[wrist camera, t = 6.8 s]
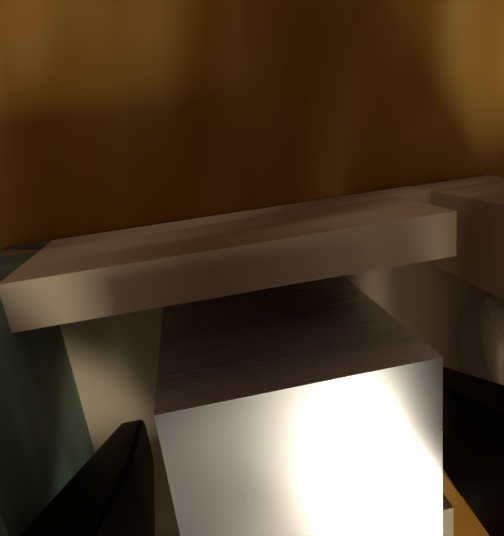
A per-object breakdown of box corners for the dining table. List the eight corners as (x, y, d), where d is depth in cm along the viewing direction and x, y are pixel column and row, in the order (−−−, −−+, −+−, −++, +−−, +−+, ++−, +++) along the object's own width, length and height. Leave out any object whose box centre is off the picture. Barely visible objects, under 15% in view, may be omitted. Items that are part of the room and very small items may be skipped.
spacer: (341, 274, 10) (443, 357, 6) (352, 425, 11) (442, 571, 7) (163, 305, 10) (154, 415, 6) (193, 459, 11) (202, 635, 7)
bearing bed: (780, 129, 12) (1175, 122, 7) (730, 365, 14) (1011, 479, 9) (5, 247, 10) (-162, 349, 5) (82, 510, 12) (19, 760, 7)
